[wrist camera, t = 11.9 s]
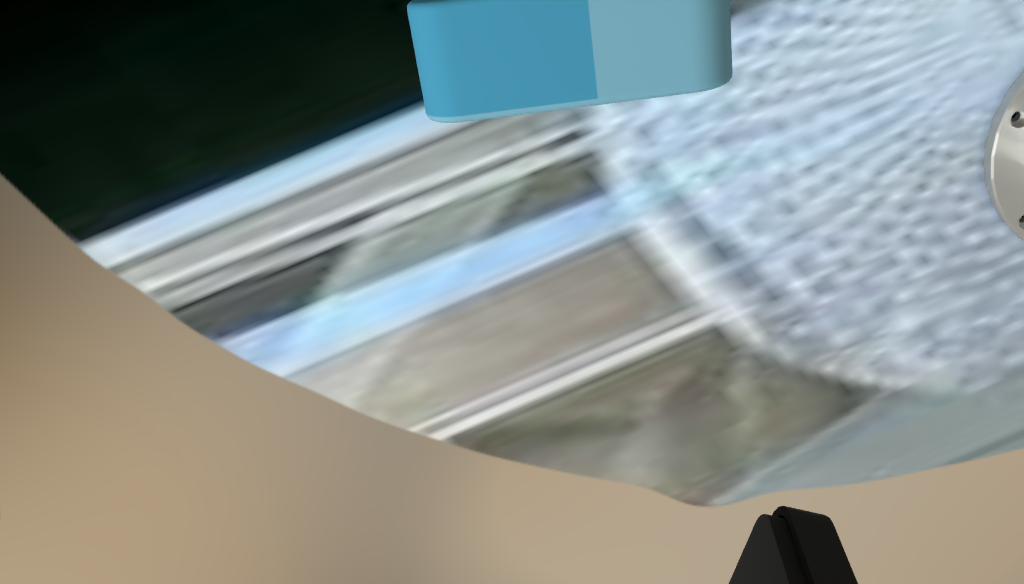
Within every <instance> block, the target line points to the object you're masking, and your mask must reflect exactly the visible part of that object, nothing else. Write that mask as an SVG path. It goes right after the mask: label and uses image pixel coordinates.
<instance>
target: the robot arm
mask: <svg viewBox="0 0 1024 584" xmlns="http://www.w3.org/2000/svg"><path fill="white" fill-rule="evenodd" d="M1015 112H1017V113H1016V116H1015V117H1014V118H1013V119H1011V117H1012V115H1013V114H1014V113H1015ZM984 173H985V184H986V188H987V191H988V194H989V197H990V200H991V203H992V205H993V207H994V208H995V210H996V212H997V213H998V215H999V216H1000V218H1001V220H1002V221H1003V222H1004V223H1005V224H1006V225H1007V226H1008V227H1009V228H1010V229H1011V230H1012V231H1013V232H1014V233H1015V234H1016V235H1017V236H1018V237H1020V238H1021V239H1022V240H1024V216H1023V215H1024V70H1023V71H1022V73H1021V74H1020V75H1019V77H1018V78H1017V79H1016V81H1015V82H1014V83H1013V85H1012V86H1011V87H1010V89H1009V90H1008V91H1007V93H1006V94H1005V96H1004V98H1003V100H1002V102H1001V104H1000V106H999V107H998V109H997V111H996V113H995V115H994V117H993V120H992V124H991V127H990V130H989V133H988V136H987V139H986V146H985V155H984ZM1022 216H1023V217H1022ZM1021 217H1022V218H1021ZM1020 218H1021V219H1020ZM729 584H858V583H857V580H856V578H855V576H854V573H853V571H852V568H851V566H850V563H849V561H848V559H847V556H846V554H845V552H844V549H843V546H842V544H841V541H840V539H839V537H838V534H837V532H836V529H835V527H834V524H833V522H832V521H831V519H830V518H829V517H827V516H825V515H822V514H817V513H813V512H809V511H804V510H800V509H795V508H791V507H786V506H780V507H778V508H777V509H776V510H775V511H774V513H773V515H772V516H771V515H766V514H763V515H761V516H760V517H759V518H758V519H757V521H756V523H755V525H754V527H753V530H752V532H751V534H750V537H749V539H748V541H747V543H746V546H745V548H744V550H743V552H742V555H741V557H740V559H739V562H738V564H737V566H736V569H735V571H734V573H733V575H732V578H731V580H730V582H729Z"/></svg>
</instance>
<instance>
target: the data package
mask: <svg viewBox="0 0 1024 584" xmlns="http://www.w3.org/2000/svg"><path fill="white" fill-rule="evenodd" d="M407 11H408V17H409V22H410V28H411V33H412V39H413V44H414V49H415V55H416V60H417V66H418V71H419V77H420V82H421V87H422V93H423V98H424V104H425V109H426V114H427V116H428V117H429V118H430V119H431V120H433V121H436V122H442V123H457V122H467V121H475V120H483V119H490V118H498V117H506V116H514V115H522V114H530V113H538V112H546V111H553V110H561V109H569V108H577V107H585V106H593V105H601V104H609V103H616V102H624V101H632V100H640V99H648V98H656V97H664V96H671V95H679V94H687V93H695V92H701V91H706V90H710V89H714V88H717V87H720V86H722V85H724V84H726V83H727V82H728V81H729V80H730V79H731V77H732V50H731V24H730V0H412V1H411V2H410V3H409V4H408V6H407Z"/></svg>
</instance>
